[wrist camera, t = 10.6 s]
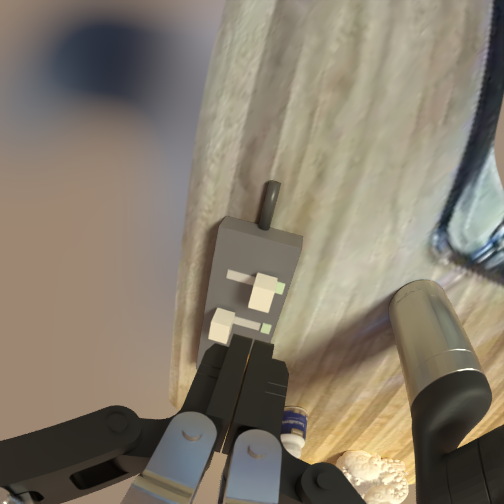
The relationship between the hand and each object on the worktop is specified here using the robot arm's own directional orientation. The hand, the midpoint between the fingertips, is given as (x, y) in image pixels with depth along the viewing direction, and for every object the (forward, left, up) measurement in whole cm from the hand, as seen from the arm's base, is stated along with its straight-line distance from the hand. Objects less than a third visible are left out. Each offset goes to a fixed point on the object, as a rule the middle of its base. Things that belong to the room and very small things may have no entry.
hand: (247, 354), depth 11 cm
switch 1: (-8, +19, -25) cm, 33 cm away
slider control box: (-8, +16, -29) cm, 34 cm away
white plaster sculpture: (-66, +28, -29) cm, 77 cm away
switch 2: (-8, +11, -25) cm, 28 cm away
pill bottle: (-35, +29, -29) cm, 54 cm away
